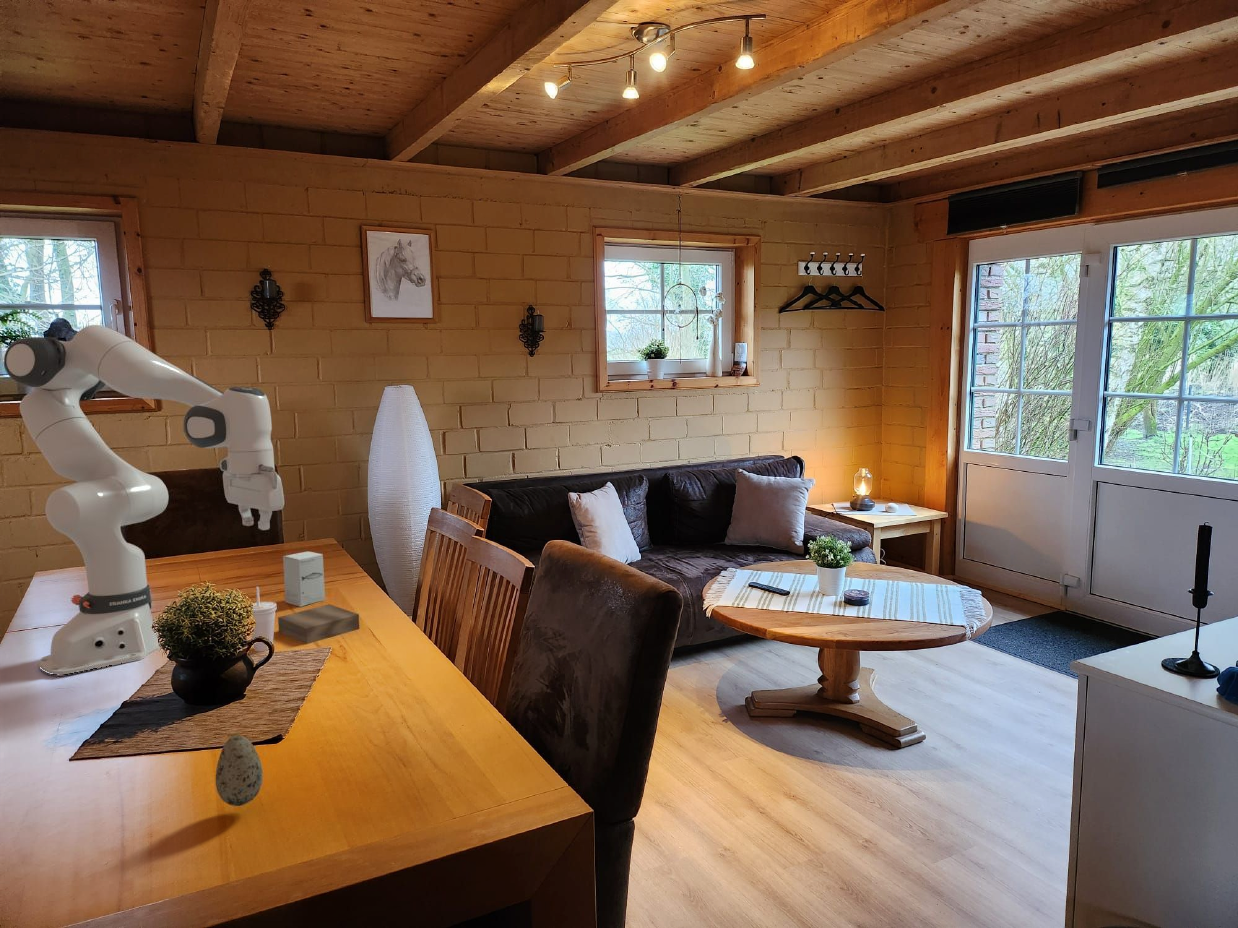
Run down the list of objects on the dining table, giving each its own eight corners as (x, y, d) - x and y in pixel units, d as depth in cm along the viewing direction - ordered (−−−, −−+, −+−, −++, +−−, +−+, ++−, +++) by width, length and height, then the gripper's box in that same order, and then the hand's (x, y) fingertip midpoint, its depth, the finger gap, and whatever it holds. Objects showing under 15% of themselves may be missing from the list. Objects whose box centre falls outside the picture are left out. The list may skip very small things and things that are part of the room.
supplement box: (300, 607, 206) (297, 559, 204) (284, 602, 210) (281, 555, 209) (326, 600, 212) (323, 553, 210) (310, 596, 216) (307, 550, 215)
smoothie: (241, 650, 174) (236, 588, 173) (266, 641, 180) (262, 581, 178) (260, 655, 171) (256, 591, 170) (285, 646, 177) (282, 584, 175)
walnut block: (307, 645, 178) (306, 628, 178) (279, 633, 187) (277, 617, 186) (359, 630, 188) (358, 614, 188) (330, 619, 197) (329, 604, 196)
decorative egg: (271, 791, 116) (266, 725, 115) (253, 814, 110) (248, 744, 109) (229, 792, 116) (224, 726, 114) (209, 815, 110) (204, 746, 108)
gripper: (289, 465, 166) (294, 530, 168) (245, 459, 180) (249, 519, 181) (259, 468, 162) (264, 535, 163) (216, 461, 175) (220, 524, 177)
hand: (256, 527), depth 172 cm, fingers open, 6 cm apart
